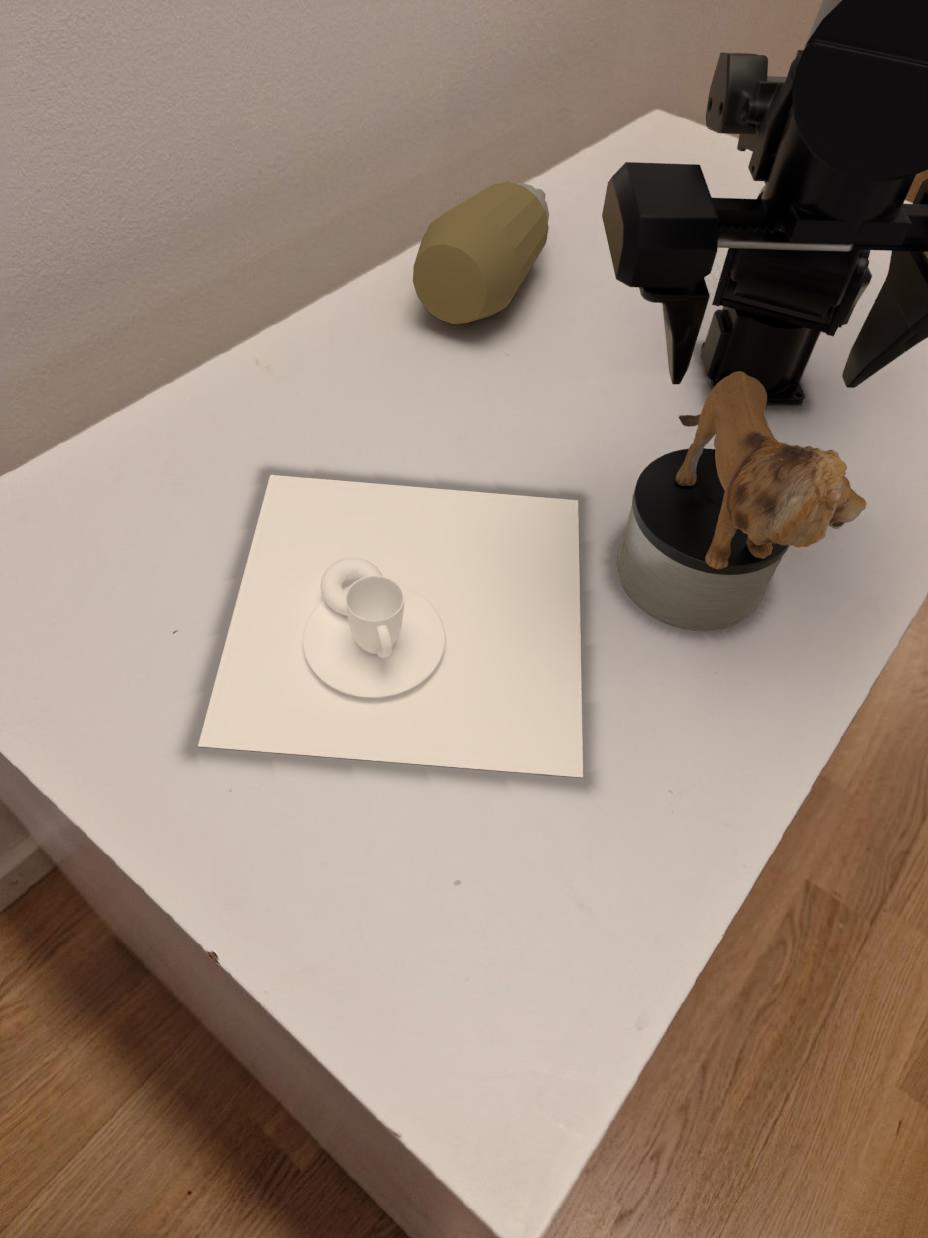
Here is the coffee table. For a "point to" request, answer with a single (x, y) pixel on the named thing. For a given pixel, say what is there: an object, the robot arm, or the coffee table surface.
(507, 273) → the squeeze bottle
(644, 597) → the steel canister
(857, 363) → the robot arm
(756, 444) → the lion figurine
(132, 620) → the coffee table surface
